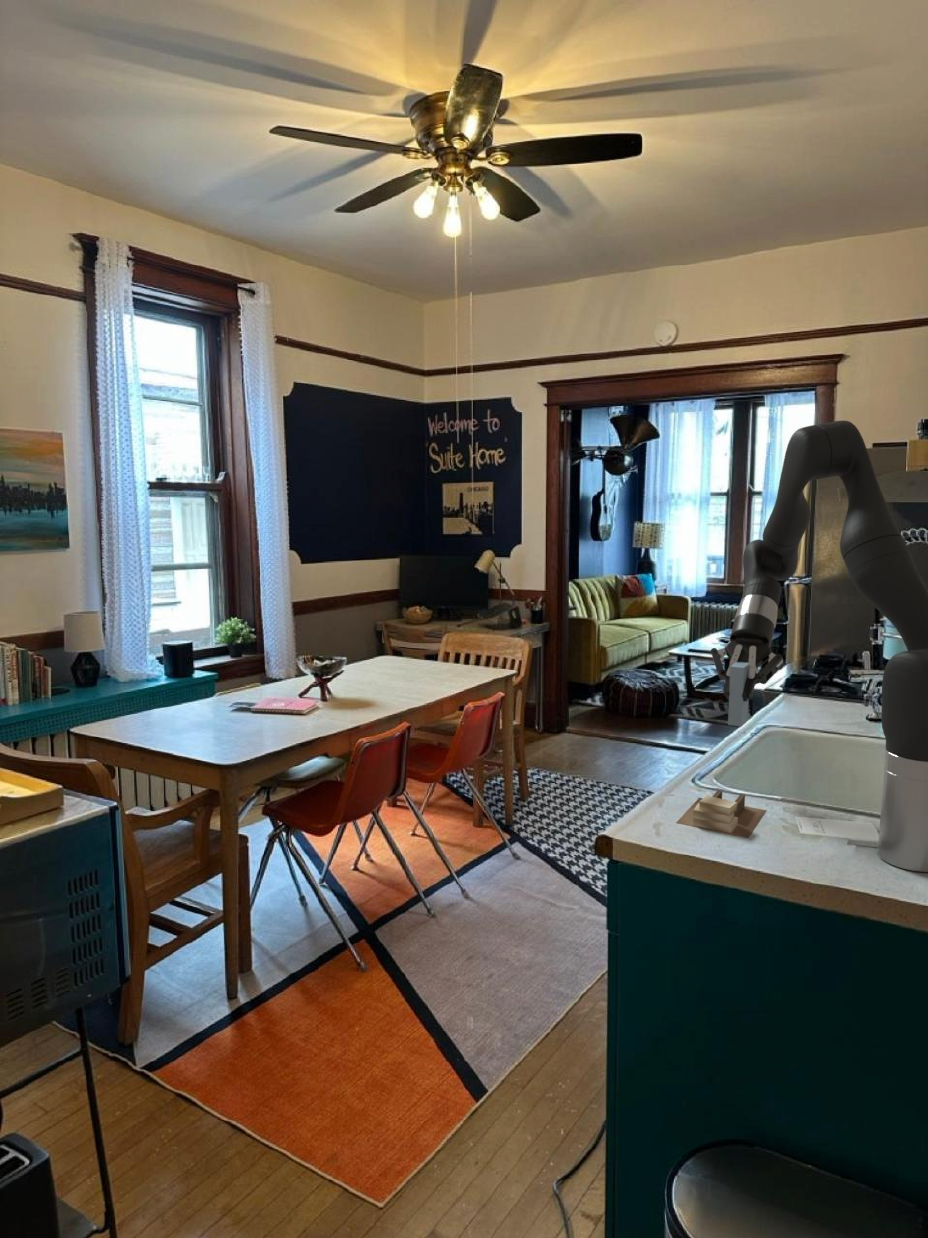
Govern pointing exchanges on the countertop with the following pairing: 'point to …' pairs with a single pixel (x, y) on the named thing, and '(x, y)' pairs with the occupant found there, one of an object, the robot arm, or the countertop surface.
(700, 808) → the birch offcut stack
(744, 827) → the walnut stand
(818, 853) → the countertop surface
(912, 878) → the countertop surface
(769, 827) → the countertop surface
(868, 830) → the external hard drive
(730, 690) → the slate-blue block
